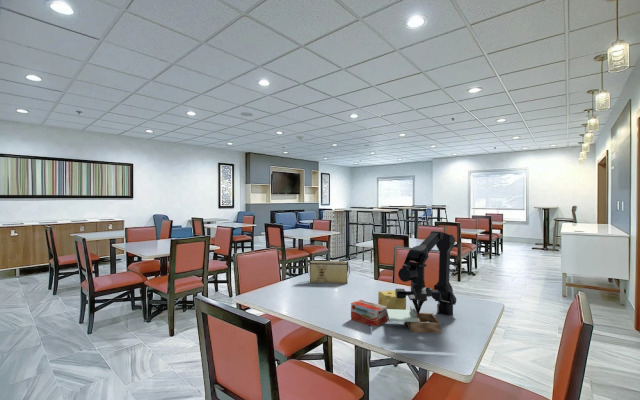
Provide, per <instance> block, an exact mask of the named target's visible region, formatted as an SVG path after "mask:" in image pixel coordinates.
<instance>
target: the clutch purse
mask: <svg viewBox="0 0 640 400" xmlns="http://www.w3.org/2000/svg"><path fill="white" fill-rule="evenodd" d="M350 268H351V267H350V263H349V261H341V260H340V261H333V260H331V261H330V260H309V262H308V264H307V267H306V270H307V271H306V272H307V274H308V275H309V282H310V283H324V284H327V283H330V284H331V283H333V284H348V278H349V277H350V275H351V271H350V270H351V269H350Z"/></svg>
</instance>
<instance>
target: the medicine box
mask: <svg viewBox="0 0 640 400" xmlns="http://www.w3.org/2000/svg"><path fill="white" fill-rule="evenodd" d="M350 319H351V321H355V322H358V323H360V324H364V325H365V326H366V325H367V326H369V327H373V326H374V327H379V326H381V325H383V324H385V323H386V322H388V321H387V320H388V316H387V307H386V306H383V305H379V304H378V303H375V302H371V301H367V300H363V299H358V300H356V301H355V300H354V301H353V302H351V303H350Z"/></svg>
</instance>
